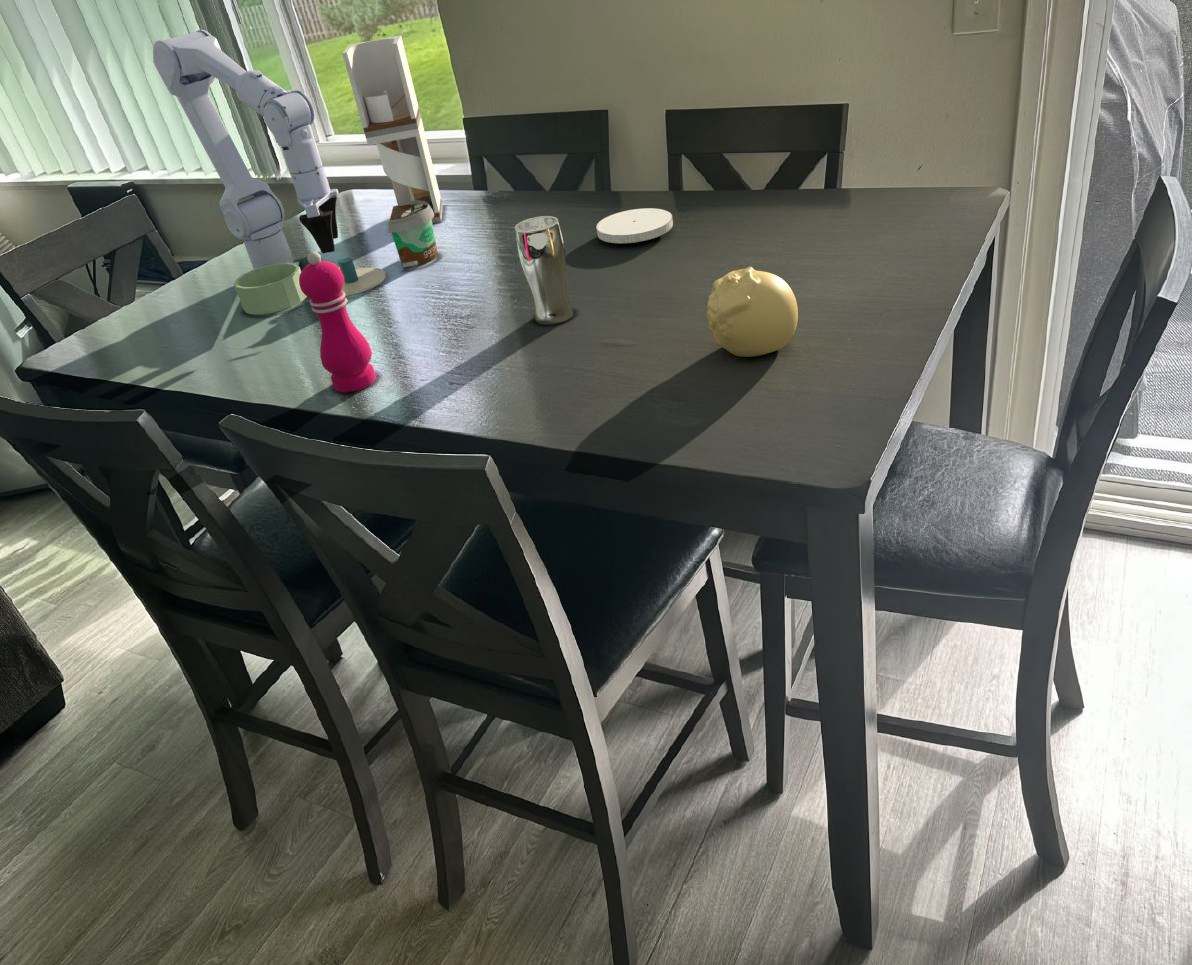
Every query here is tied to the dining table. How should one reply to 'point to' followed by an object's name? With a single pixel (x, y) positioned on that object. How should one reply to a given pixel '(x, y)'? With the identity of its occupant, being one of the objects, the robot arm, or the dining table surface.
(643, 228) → the plastic lid
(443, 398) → the dining table surface
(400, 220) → the food container
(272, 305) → the tub
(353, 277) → the tub lid
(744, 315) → the sculpture
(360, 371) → the pepper mill
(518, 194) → the dining table surface
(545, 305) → the beer glass
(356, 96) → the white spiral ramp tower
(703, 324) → the dining table surface
